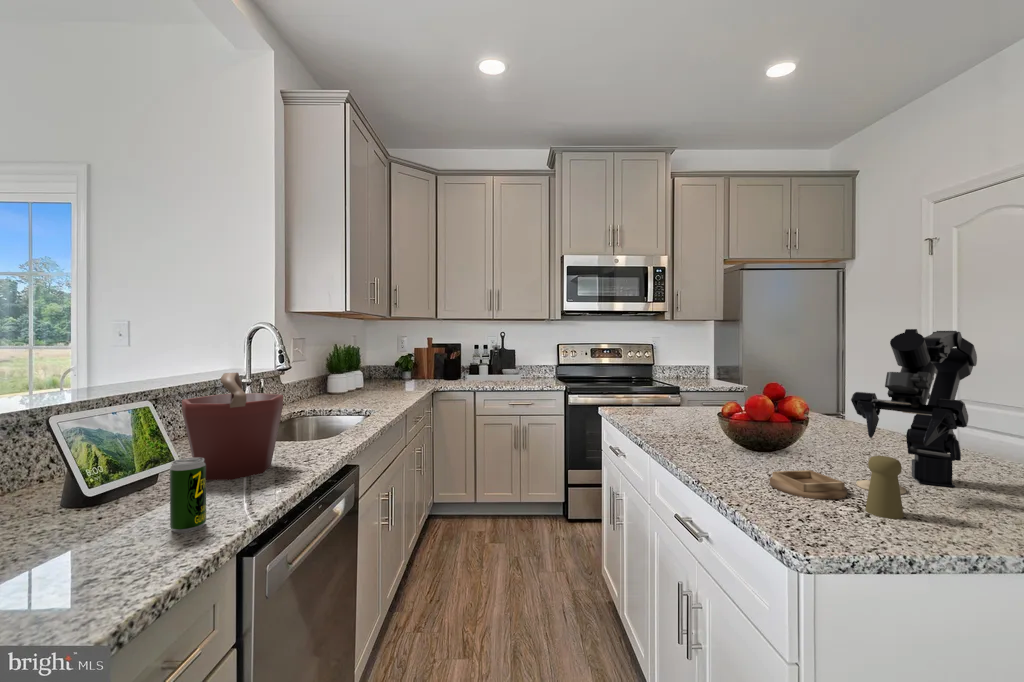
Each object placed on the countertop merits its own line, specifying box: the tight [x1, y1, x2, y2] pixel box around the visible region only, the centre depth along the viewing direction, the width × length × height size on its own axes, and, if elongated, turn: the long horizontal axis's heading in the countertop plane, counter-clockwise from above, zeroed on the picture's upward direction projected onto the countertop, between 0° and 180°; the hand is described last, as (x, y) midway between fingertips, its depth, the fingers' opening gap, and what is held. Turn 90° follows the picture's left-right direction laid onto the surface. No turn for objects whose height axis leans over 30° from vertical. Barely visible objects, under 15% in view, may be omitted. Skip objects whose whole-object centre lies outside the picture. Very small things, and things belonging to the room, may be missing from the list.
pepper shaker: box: [865, 455, 905, 520], centre depth 94 cm, size 6×6×11 cm
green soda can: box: [169, 457, 207, 534], centre depth 86 cm, size 5×5×12 cm
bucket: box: [181, 372, 284, 481], centre depth 122 cm, size 24×22×25 cm
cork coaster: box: [856, 479, 907, 495], centre depth 110 cm, size 9×9×1 cm
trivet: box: [769, 469, 848, 500], centre depth 109 cm, size 15×15×3 cm
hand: (896, 440), depth 99 cm, fingers open, 9 cm apart
